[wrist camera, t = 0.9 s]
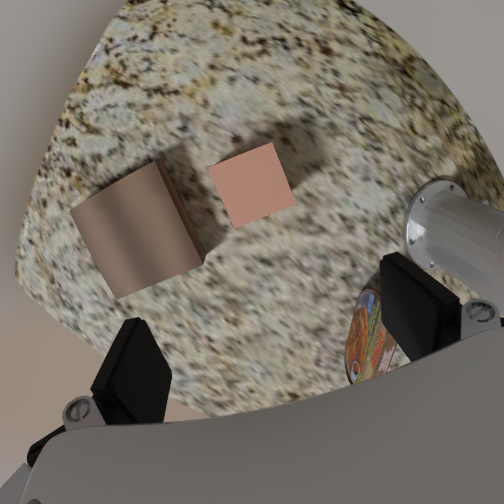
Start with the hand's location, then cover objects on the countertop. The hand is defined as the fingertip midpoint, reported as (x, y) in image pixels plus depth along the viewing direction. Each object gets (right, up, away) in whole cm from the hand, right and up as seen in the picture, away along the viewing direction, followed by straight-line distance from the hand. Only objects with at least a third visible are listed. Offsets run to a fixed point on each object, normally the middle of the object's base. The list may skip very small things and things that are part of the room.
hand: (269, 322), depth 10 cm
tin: (+15, -8, +28) cm, 32 cm away
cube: (-1, +10, +20) cm, 23 cm away
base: (-14, +5, +21) cm, 26 cm away
